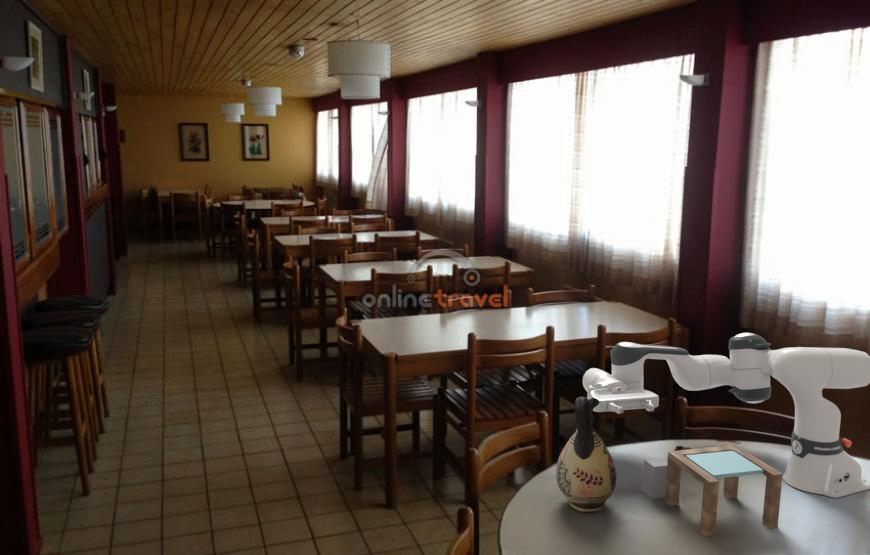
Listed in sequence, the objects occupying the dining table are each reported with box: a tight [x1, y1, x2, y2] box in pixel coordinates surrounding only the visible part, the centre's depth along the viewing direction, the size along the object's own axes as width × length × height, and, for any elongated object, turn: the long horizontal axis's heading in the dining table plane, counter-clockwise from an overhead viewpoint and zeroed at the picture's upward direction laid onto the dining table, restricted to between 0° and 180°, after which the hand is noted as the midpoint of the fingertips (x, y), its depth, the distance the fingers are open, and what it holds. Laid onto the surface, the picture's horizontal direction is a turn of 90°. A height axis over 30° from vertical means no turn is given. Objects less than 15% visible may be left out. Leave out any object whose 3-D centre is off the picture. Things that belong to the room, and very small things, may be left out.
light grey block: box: [642, 457, 668, 499], centre depth 198 cm, size 5×5×9 cm
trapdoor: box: [685, 451, 763, 480], centre depth 185 cm, size 14×12×1 cm
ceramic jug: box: [555, 396, 617, 512], centre depth 189 cm, size 17×15×30 cm
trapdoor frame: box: [664, 444, 784, 537], centre depth 186 cm, size 20×18×14 cm
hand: (636, 409), depth 207 cm, fingers open, 8 cm apart
